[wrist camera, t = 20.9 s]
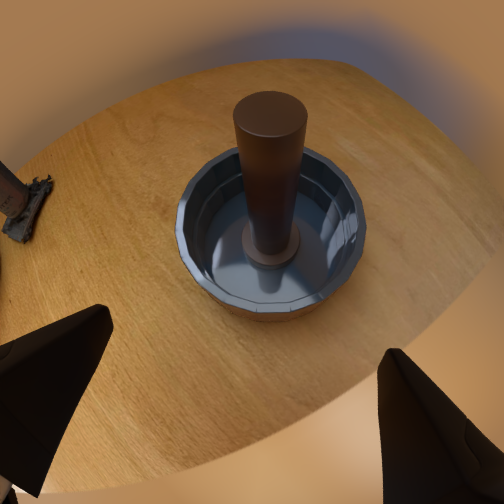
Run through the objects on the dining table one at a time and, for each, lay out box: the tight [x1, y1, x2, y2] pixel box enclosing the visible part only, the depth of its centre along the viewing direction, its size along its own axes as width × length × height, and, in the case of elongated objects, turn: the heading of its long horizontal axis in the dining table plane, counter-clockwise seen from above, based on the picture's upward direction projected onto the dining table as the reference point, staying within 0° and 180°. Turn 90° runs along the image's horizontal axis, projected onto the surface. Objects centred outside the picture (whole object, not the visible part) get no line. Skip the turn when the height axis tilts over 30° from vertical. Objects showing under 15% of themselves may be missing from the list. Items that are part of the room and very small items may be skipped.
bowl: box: [175, 147, 366, 322], centre depth 20 cm, size 12×12×6 cm
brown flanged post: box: [233, 91, 308, 270], centre depth 16 cm, size 4×4×13 cm
